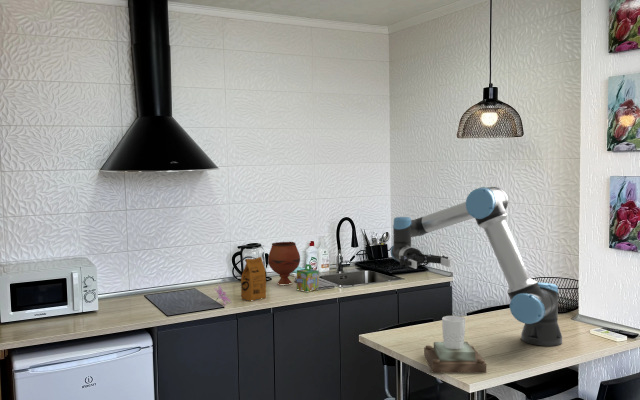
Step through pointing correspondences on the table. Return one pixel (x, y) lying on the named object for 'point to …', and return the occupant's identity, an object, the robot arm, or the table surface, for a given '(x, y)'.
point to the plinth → (454, 364)
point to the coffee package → (253, 280)
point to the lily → (222, 295)
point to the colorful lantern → (307, 279)
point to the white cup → (453, 332)
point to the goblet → (284, 259)
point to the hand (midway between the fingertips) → (432, 264)
